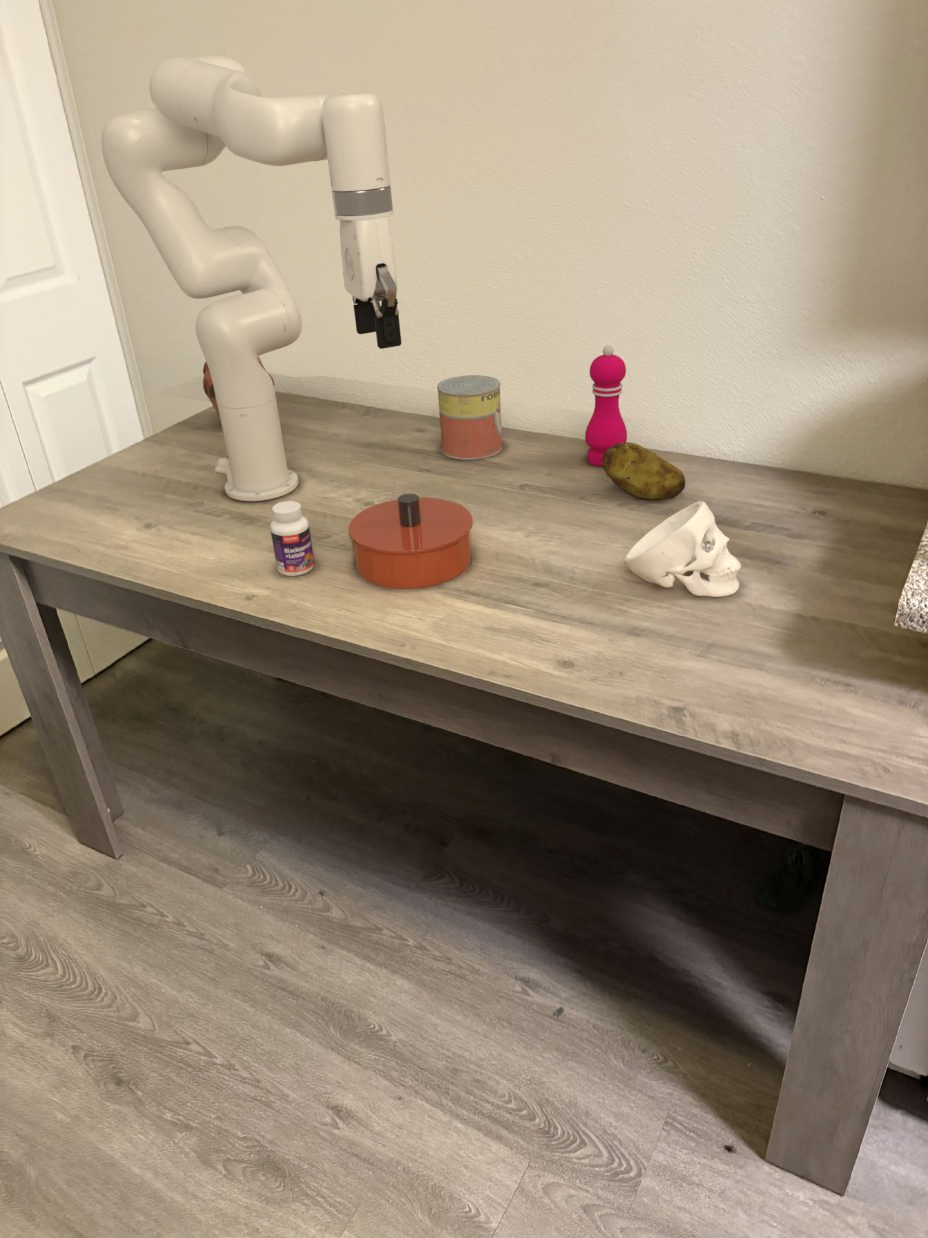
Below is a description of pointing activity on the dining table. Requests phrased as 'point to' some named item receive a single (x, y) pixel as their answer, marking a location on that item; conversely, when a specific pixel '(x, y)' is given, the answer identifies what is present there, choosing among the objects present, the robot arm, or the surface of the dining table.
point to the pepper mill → (605, 406)
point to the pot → (414, 565)
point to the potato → (642, 472)
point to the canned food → (470, 417)
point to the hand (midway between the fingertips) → (378, 339)
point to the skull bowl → (686, 554)
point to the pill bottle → (291, 539)
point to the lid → (410, 525)
